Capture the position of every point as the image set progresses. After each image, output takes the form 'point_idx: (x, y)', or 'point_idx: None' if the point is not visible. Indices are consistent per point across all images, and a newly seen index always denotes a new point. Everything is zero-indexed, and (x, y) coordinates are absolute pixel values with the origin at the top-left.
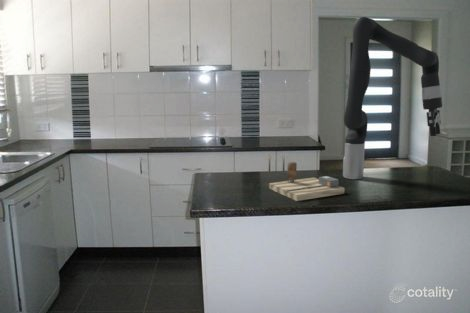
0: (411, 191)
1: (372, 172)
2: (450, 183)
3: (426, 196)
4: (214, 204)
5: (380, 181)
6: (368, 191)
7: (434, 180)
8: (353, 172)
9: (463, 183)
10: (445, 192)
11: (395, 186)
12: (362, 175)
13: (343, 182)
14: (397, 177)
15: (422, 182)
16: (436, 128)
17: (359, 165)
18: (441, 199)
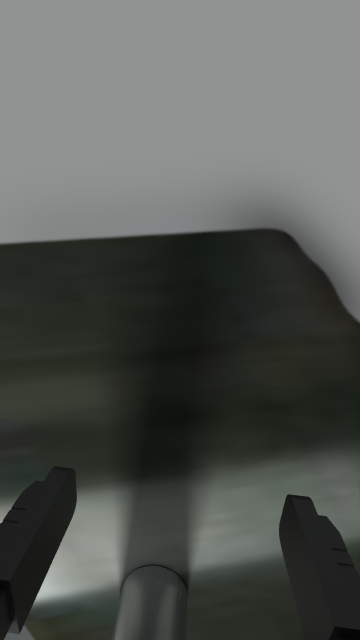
0: (266, 400)
1: None
2: (73, 291)
3: (314, 348)
4: None
5: (168, 508)
6: (328, 517)
7: (53, 348)
8: (185, 617)
9: (47, 247)
10: (227, 296)
11: (218, 455)
12: (158, 577)
13: (241, 603)
14: (75, 469)
15: (110, 383)
16: (39, 562)
17: (172, 635)
18: (335, 299)
